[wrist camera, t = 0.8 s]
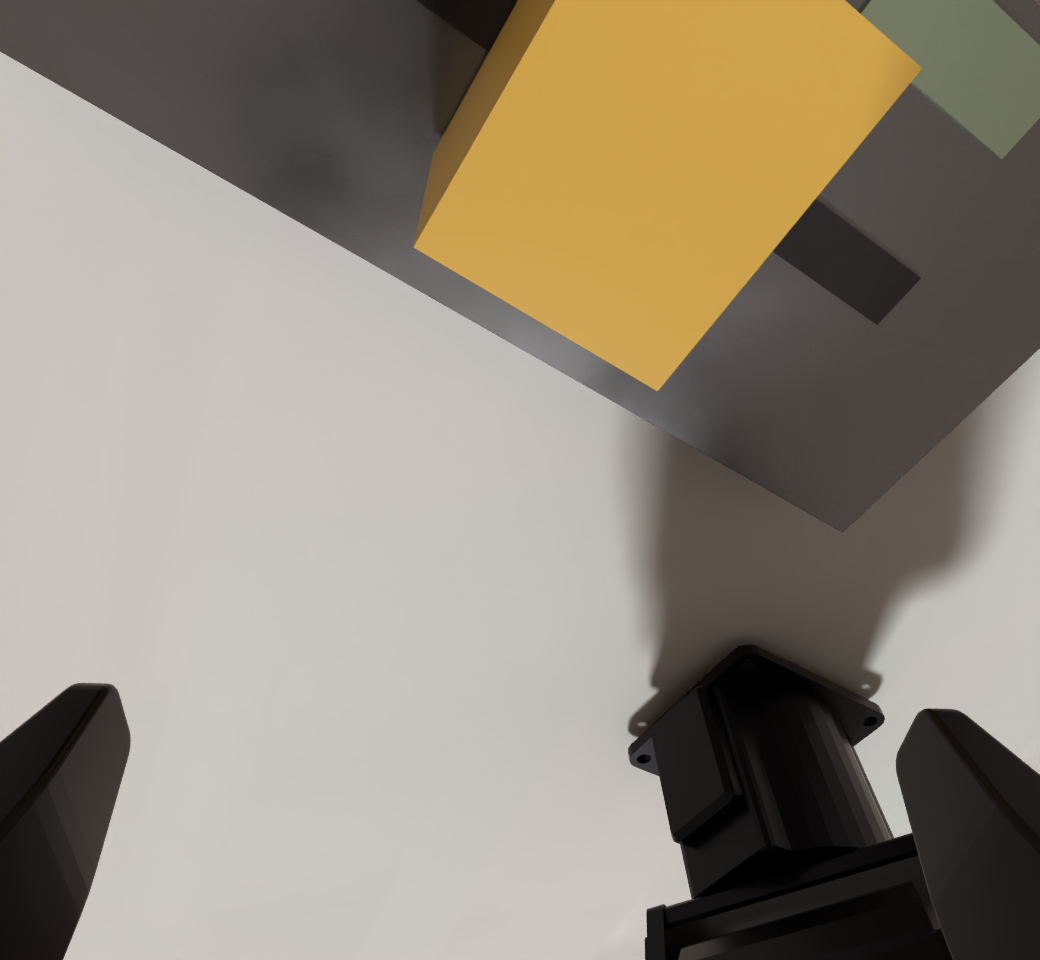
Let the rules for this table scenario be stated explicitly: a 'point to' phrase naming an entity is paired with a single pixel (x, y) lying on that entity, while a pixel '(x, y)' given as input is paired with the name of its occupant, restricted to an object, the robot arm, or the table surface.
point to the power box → (759, 304)
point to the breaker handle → (649, 159)
